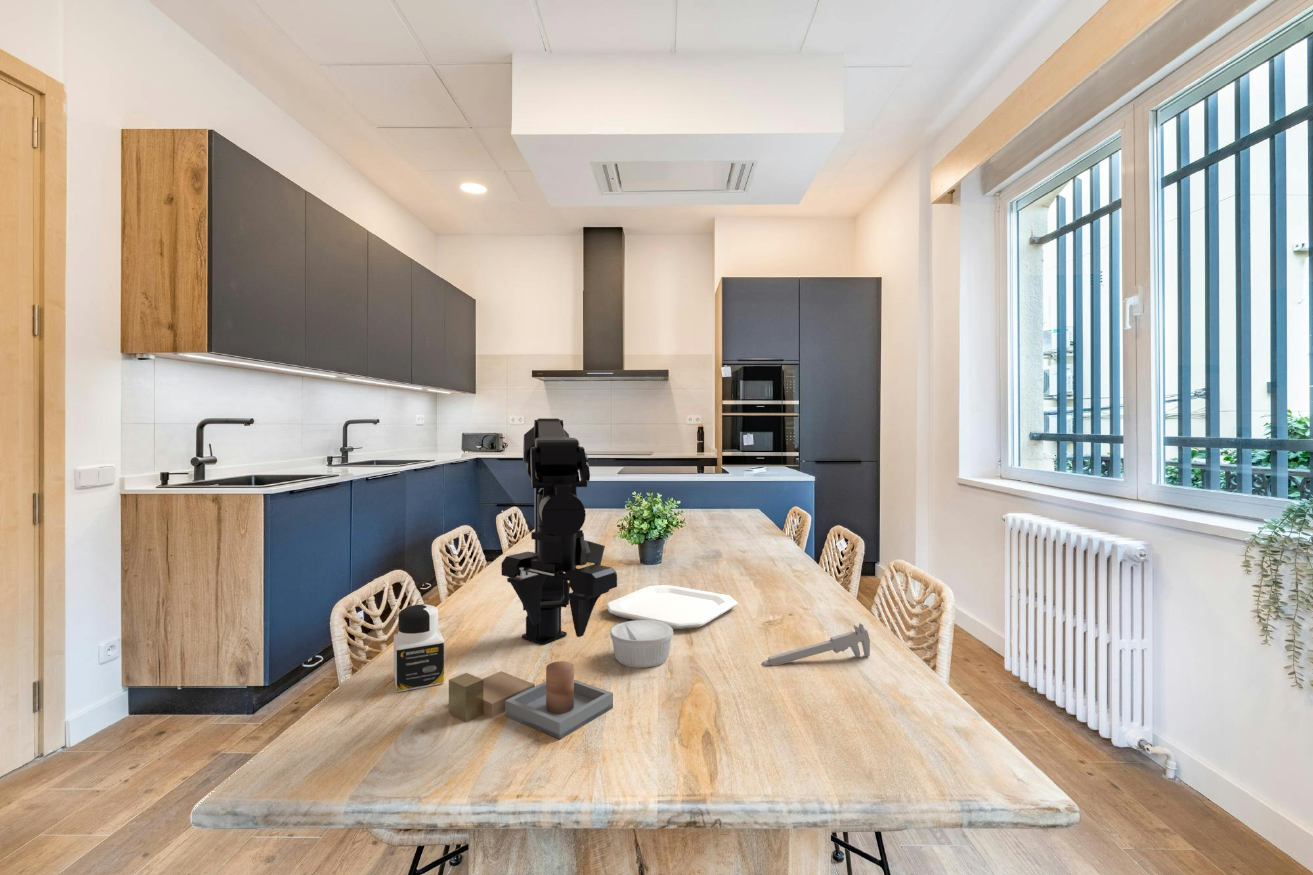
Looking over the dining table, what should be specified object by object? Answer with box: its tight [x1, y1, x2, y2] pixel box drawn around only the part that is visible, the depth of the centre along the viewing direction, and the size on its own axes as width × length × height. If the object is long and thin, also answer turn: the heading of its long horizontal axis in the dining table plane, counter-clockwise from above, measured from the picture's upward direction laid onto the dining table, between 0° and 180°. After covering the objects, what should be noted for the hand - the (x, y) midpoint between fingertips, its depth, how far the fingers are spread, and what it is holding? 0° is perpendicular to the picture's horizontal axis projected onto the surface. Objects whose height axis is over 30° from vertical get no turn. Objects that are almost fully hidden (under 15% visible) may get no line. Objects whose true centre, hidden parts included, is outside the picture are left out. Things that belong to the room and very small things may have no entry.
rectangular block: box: [448, 672, 484, 723], centre depth 85 cm, size 3×4×5 cm
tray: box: [504, 679, 614, 740], centre depth 85 cm, size 11×11×2 cm
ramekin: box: [610, 620, 674, 669], centre depth 106 cm, size 11×11×5 cm
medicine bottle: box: [393, 603, 445, 693], centre depth 96 cm, size 7×7×12 cm
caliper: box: [761, 622, 871, 667], centre depth 105 cm, size 20×1×6 cm, turn 102°
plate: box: [605, 584, 739, 630], centre depth 133 cm, size 25×25×2 cm
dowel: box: [545, 660, 575, 714], centre depth 85 cm, size 4×4×6 cm
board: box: [482, 670, 536, 719], centre depth 89 cm, size 8×8×2 cm
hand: (557, 629), depth 86 cm, fingers open, 9 cm apart
